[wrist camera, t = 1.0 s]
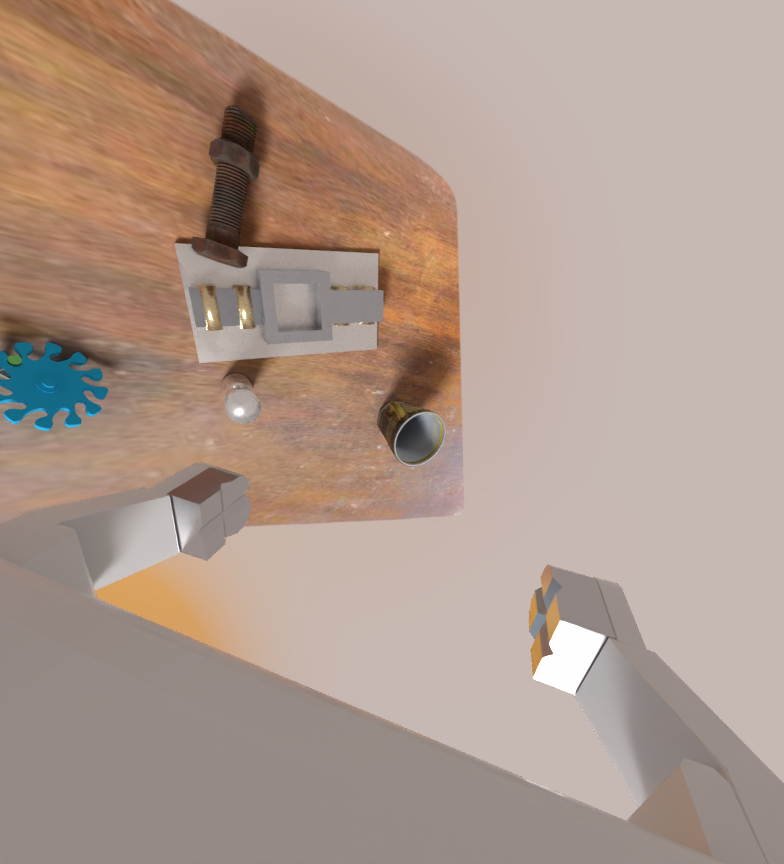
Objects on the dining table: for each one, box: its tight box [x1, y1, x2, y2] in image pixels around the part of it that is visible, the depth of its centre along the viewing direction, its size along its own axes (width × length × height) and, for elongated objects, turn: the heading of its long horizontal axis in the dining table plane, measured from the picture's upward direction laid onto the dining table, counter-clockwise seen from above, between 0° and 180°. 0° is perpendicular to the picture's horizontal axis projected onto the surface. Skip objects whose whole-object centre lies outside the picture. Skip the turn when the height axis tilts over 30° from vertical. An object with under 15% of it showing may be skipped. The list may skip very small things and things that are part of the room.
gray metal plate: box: [175, 243, 384, 363], centre depth 48 cm, size 14×26×4 cm, turn 88°
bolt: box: [192, 105, 259, 268], centre depth 39 cm, size 6×5×15 cm
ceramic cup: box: [377, 401, 445, 466], centre depth 61 cm, size 13×10×10 cm
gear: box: [0, 342, 108, 431], centre depth 39 cm, size 11×6×10 cm
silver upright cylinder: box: [221, 373, 261, 424], centre depth 47 cm, size 4×4×9 cm
